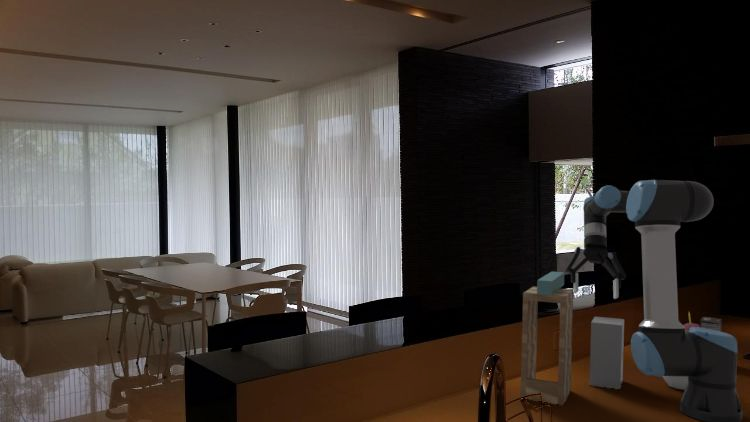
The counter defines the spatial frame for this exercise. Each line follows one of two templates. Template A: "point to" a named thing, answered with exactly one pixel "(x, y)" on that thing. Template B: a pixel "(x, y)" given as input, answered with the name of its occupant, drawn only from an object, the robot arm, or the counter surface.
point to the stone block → (606, 352)
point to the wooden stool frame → (529, 383)
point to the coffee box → (711, 323)
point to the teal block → (550, 283)
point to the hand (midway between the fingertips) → (596, 295)
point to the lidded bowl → (676, 381)
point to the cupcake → (689, 325)
